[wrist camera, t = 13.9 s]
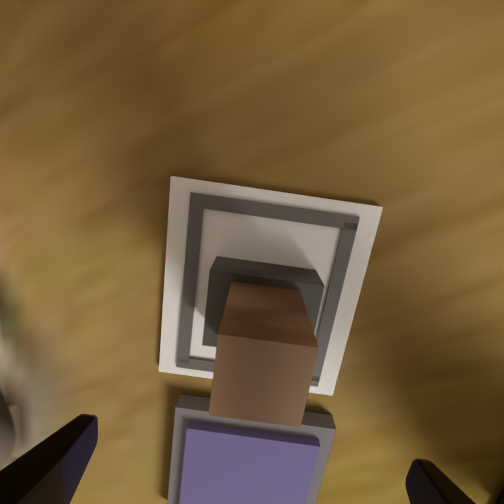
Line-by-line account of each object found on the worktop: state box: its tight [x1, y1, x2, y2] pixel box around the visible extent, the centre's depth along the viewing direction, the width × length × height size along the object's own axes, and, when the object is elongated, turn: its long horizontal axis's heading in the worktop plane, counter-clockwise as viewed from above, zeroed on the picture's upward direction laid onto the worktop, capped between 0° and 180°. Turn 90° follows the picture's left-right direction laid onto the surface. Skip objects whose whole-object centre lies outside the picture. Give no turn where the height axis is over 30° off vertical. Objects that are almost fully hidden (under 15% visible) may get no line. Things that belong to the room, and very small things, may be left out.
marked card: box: [159, 176, 383, 396], centre depth 18 cm, size 12×13×1 cm
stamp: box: [202, 256, 325, 427], centre depth 14 cm, size 6×4×8 cm
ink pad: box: [167, 394, 336, 504], centre depth 21 cm, size 11×11×2 cm
